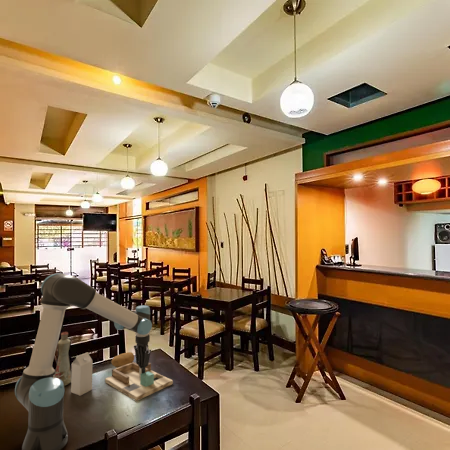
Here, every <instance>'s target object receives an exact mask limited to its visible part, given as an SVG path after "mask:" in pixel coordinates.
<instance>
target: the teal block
mask: <svg viewBox="0 0 450 450" xmlns="http://www.w3.org/2000/svg"><path fill="white" fill-rule="evenodd" d="M154 381H155V378H154V374H153V373H151V372H149V371H148V372H145V373H143V374H140V384H141V385H143V386H145V387H147V386H149V385H151V384H154Z"/></svg>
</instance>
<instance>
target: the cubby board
mask: <svg viewBox="0 0 450 450" xmlns="http://www.w3.org/2000/svg"><path fill="white" fill-rule="evenodd" d="M148 371H149V369H148V368H145V372H148ZM149 372H151V373H153V374H154V384H151V385H149V386H147V387H145V386H143V385H141V384H140V379H139V366H138V364H136V361H135V362H134V361H133V362H132V363H130V364H127V365H124V366H121V367H118V368H116V367H115V368H113V369H111V375H110V376H108V377H106V378H105V380H104V382H105V383H106V384H107V385H108V386H111V387H113V388H114V389H115V390H117V391H119V392H120V393H122V394H124V395H126V396H127V397H128V398H131V399H132V400H134V401H135V402H138V401H140V400H142V399H143V398H146V397H148V396H151V395H152V394H155V393H156V392H159V391H160V390H163V389H165V388H167V387H170V386H171V385H173V383H174V381H173V379H171V378H169V377H166V376H164V375H162V374H160V373H159V372H156V371H154V370H152V369H151V370H150V371H149ZM156 378H157V379H156Z"/></svg>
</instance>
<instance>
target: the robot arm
mask: <svg viewBox="0 0 450 450" xmlns="http://www.w3.org/2000/svg"><path fill="white" fill-rule="evenodd" d="M40 292H41V294H42V296H41V300H40V301H41V302H40V305H41V307H42V308H43V310H42V313H41V315H40V316H41V317H40V320H39V325H38V329H37V334H36V336H35V341H34V345H33V349H32V353H31V356H30V360H29V365H28V366H27V367H26V368H25V369H23V372H22V375H21V377H19V379H18V380H17V381H16V383H15V388H14V395H15V397H16V399H17V401H18V402H19V403H20V405H22V406H23V407H24V408H25V409H26V411H27V412H28V422H27V423H28V424H27V425H28V426H27V431H26V434H25V437H24V440H23V443H22V445H21V450H62V449H63V448H64V447H65V446H66V445H67V443H68V437H69V435H68V430H67V428H66V424H65V422H64V405H65V386H64V384H63V382H62V380H60V379H58V378H54V375H55V371H56V369H54V367H53V362H54V360H55V354H56V350H57V348H58V342H59V338H60V335H61V330H62V327H63V322H64V318H65V312H66V310H68V309H69V308H70V307H71V306H73V307H76V308H79V309H80V310H86V309H87V310H89V311H90V312H91V311H92V312H93V313H95V314H98V315H99V316H101V317H103V318H105V319H108V320H110V321H111V322H113V324H114V327H115V329H116V330H117V331H123V330H128V331H131V332H133V333H135V337H134V338H135V343H136V345H134V346H133V348H134V357H135V363H136V364H138V366H139V379H140V374H143V373H145V367H147V366H148V363H150V358H151V357H150V355H151V353H152V349H149V342H151V341H150V338H151V335H150V333H151V330H152V328H153V324H152V320H151V308H150V306H149V305H138V306H136V307H135V311H131V309H128V308H127V307H124V306H122V305H120V304H118V303H117V302H115V301H113V300H111V299H109V298H108V297H106V296H103V294H100V293H98V292H97V289H96V288H94V287H92V286H91V285H89V284H88V283H87V282H85V281H83V280H81V278H78V277H77V276H75V275H69V274H65V273H54V274H53V273H52V274H50V275H48V276H47V277H45V279H43V280H42V283H41V286H40Z"/></svg>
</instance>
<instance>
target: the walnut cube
mask: <svg viewBox="0 0 450 450" xmlns="http://www.w3.org/2000/svg"><path fill="white" fill-rule="evenodd" d="M145 368H148V369H149V371H150V370H152V363H151V362H149V363H148V366H147V367H145Z"/></svg>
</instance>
